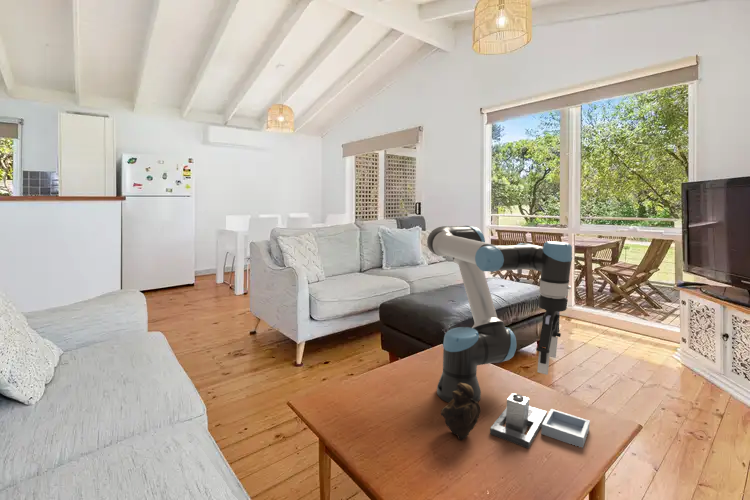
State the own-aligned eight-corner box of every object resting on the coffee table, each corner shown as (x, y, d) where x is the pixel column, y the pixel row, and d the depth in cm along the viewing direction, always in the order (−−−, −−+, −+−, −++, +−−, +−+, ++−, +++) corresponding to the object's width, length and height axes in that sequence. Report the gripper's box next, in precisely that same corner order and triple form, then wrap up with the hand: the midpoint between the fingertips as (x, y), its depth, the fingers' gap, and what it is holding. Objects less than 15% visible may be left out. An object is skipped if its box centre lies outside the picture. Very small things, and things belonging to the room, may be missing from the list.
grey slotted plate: (490, 434, 114) (490, 427, 114) (511, 406, 130) (512, 400, 130) (528, 448, 108) (528, 441, 107) (546, 417, 124) (546, 411, 123)
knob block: (505, 430, 116) (507, 397, 115) (510, 423, 120) (512, 391, 119) (522, 437, 113) (524, 402, 112) (527, 429, 117) (529, 396, 116)
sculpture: (428, 420, 115) (450, 374, 116) (454, 431, 119) (475, 386, 120) (448, 440, 105) (472, 389, 106) (476, 450, 109) (498, 401, 111)
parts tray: (541, 433, 115) (541, 424, 114) (550, 417, 123) (550, 408, 123) (582, 448, 108) (583, 438, 108) (589, 430, 117) (589, 420, 116)
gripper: (560, 307, 100) (553, 384, 103) (573, 288, 120) (566, 353, 123) (530, 302, 104) (524, 377, 107) (547, 285, 124) (541, 347, 127)
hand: (547, 364), depth 115 cm, fingers open, 13 cm apart
